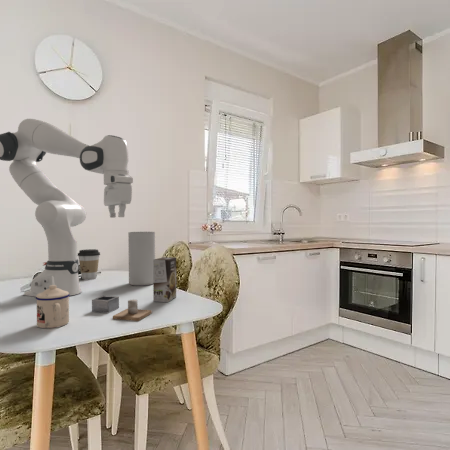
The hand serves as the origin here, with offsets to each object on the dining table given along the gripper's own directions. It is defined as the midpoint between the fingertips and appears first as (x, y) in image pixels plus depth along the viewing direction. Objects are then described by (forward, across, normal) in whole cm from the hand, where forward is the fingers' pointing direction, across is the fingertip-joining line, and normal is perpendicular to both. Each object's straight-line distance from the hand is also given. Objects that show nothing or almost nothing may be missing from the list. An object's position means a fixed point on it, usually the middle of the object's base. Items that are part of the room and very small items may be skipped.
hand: (116, 217), depth 128 cm
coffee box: (+32, +4, +17) cm, 37 cm away
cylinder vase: (+32, -32, +23) cm, 51 cm away
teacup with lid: (+32, +14, -24) cm, 43 cm away
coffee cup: (+32, -63, +6) cm, 70 cm away
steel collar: (+32, +6, -6) cm, 33 cm away
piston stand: (+32, +19, -2) cm, 37 cm away
